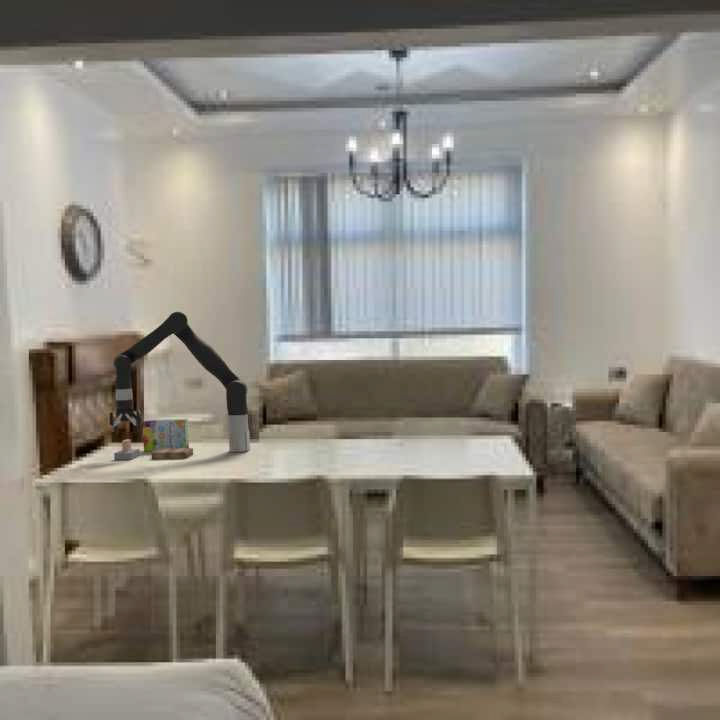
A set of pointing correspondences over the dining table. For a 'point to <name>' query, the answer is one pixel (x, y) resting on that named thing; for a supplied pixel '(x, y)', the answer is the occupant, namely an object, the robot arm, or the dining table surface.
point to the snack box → (165, 434)
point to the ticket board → (172, 453)
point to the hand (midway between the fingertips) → (126, 433)
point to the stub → (126, 451)
